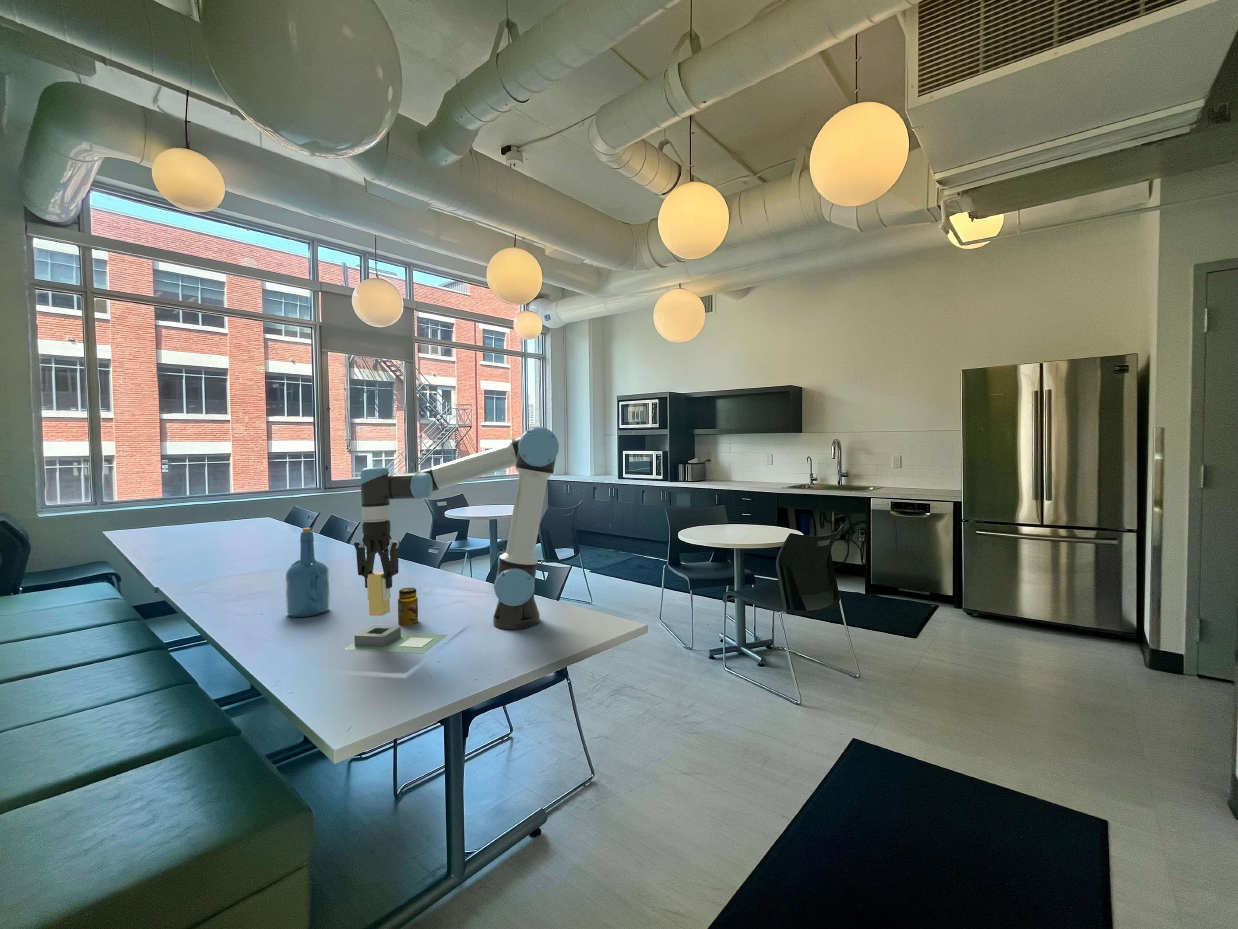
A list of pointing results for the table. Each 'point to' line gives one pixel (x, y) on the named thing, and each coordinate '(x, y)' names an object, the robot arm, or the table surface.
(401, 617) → the condiment
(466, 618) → the table surface
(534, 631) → the table surface
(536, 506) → the robot arm
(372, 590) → the plug
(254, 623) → the table surface
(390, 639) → the green board with socket
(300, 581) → the wine bottle
